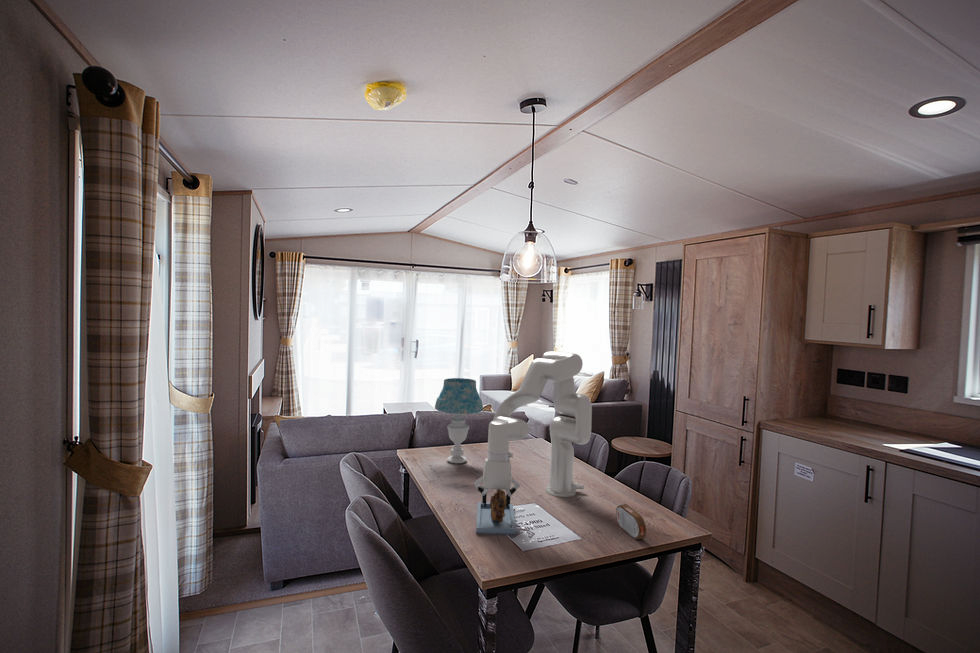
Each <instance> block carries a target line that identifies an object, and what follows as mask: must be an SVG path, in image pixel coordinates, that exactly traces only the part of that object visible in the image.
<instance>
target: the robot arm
mask: <svg viewBox="0 0 980 653" xmlns="http://www.w3.org/2000/svg"><path fill="white" fill-rule="evenodd" d="M582 369H583V358H582V357H581V355H579V354H578V353H573V352H563V351H555V350H554V351H550V350H549V351H546V352H544V353H543V354H542V357H541V358H539V357H538V358H534V359H533V360H532V361H531V363H530V365H529V366H528V369H527V370H526V373H525V376H524V378H523V379H522V381H521V383H520V386H519V388H518V389H517V390H516V391H514V392H513V393H511V394H510V395H509V396H508V397H506V398H505V399H504V400H503V401H502V402H500V404H499V406H498V408H497V410H496V412H495V414H494V416H493V419H492V420H491V421H490V422H489V424H488V436H487V457H486V458H485V459H484V464H483V471H482V472H483V473H482V476H480V477H479V478H478V479H476V480H475V481H473V482H474V483H473V485H474V486H475V488H476V489H477V490H478V492H480V494H481V495H482V500H481V502H482V503H484V507H486V503H487V492H488V491H489V490H497V489H502V490H505V495H506V507H507V508H508V504H510V503H511V497H512V495H513V494H514V493H515V492H516V491H517V490H518V489H519V488H520V486H521V485H520V482H518V481H517V480H516V479H515V478H514V477H512V463H511V461H512V460H511V459H510V458H514V454H513V453H511V452H510V442H512V441H513V442H514V441H523V440H524V439H526V438H527V436H528V435H529V433H530V426H529V424H528V423H527V421H525V420H523V419H520V418H516V417H513V416H511V415H512V414H513V413H514V412H515V411H516V410H517V409H518V408H521V407H524V406H527V405H531V404H532V403H536V402H538V401H539V399H540V398H541V396H542V392H543V390H544V389H545V386H546V384H547V382H552V383H553V408H554V411H555V412H556V413H558V414H560V416H554V417H553V418H552V419H551V421H550V423H549V436H550V441H551V442H550V444H551V446H550V448H551V449H550V466H549V467H550V469H549V470H550V471H549V484H548V485H547V486H545V492H546V493H547V494H549V495H551V496H553V497H559V498H569V497H571V498H572V497H573V496H575V495H576V494H577V490H584V489H585V485H584V484H580V482H574V478H573V477H574V460H575V449H574V446H573V444H577V445H586V444H588V442H590V439H591V437H592V436H591V435H592V421H593V420H592V419H593V418H592V417H593V416H592V415H593V408H592V406H593V405H592V401H591V399H590V397H588V396H587V395H585V394H583V393H579V392H578V393H577V392H576V390H575V378H574V377H575V376H577V375H578V374H579V373H580V372H581V371H582ZM561 415H566V416H561ZM567 416H570V417H567ZM572 417H574V418H572ZM481 483H482V486H481V485H480V484H481ZM512 484H513V485H514V486H512Z"/></svg>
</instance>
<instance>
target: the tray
mask: <svg viewBox="0 0 980 653" xmlns="http://www.w3.org/2000/svg"><path fill="white" fill-rule="evenodd" d="M476 508H477V509H476V510H477V511H476V528H475V529H476V530H475V531H476V532H475V534H476V535H503V536H506V535H507V536H508V535H509V536H516V535H517V525H516V519H515V511H514V504H513V503H511V502H510V504H508V508H507V507H506V506H505V511H504V513H505V517H503V521H502V522H498V521H493V520H492V517H491V508H490V502H486V507H484V503H482V501H478V502H477V506H476Z"/></svg>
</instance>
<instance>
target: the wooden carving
mask: <svg viewBox="0 0 980 653" xmlns="http://www.w3.org/2000/svg"><path fill="white" fill-rule="evenodd" d="M489 500H490V501H489V503H490V508H491V517H492V520H493V521H498V522H502V521H503V517H505V513H504V511H505V506H506V491H504V490H503V489H496V492H494V494H493V495H491V496H490V499H489Z"/></svg>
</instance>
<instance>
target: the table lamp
mask: <svg viewBox="0 0 980 653" xmlns="http://www.w3.org/2000/svg"><path fill="white" fill-rule="evenodd" d="M434 409H435V411H437V412H441V413H445V414H454V417H452V418H450V421H451V423H449V424H448V425H447V426H446V429H447V430H448V432H447V433H448V437H449V439H450V440H451V441H452V442H453V444H454V445H453V446H452V448H451V449H450V455H449V456H448V457H447V458H446V461H447V462H448V463H452V464H463V463H465V462H467V460H468V459H467V457H466V456H464V450H465V449H463V447H462V445H461V444H462V442H464V441H465V440H466V439H467V436H468V431H469V430H470V425H469V424H466V421H467V419H466V418H464V417H463V415H469V414H470V415H471V414H477V413H481V412H483V411H484V406H483V400H482V399H481V397H480V394H479V392H478V389H477V381H476V379H471V378H462V377H453V378H452V377H451V378H445V379H444V380H443V385H442V390H441V391H440V393H439V396H438V397H437V398H436V400H435V403H434Z"/></svg>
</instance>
